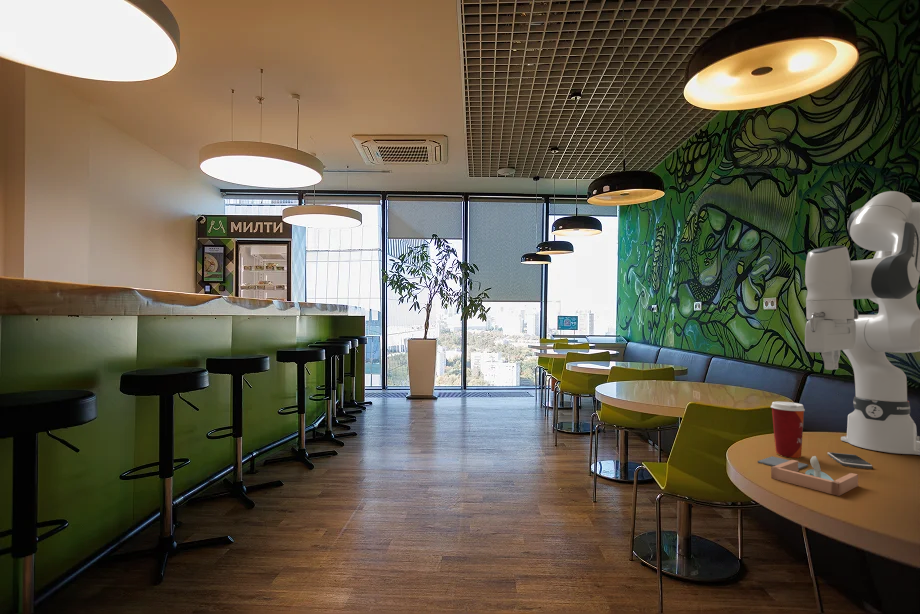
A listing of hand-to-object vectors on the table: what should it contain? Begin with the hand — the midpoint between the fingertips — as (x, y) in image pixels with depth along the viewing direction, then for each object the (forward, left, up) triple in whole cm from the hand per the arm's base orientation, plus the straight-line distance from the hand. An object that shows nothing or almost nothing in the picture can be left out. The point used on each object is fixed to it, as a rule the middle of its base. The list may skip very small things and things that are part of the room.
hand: (831, 369), depth 108 cm
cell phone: (-15, -2, -26) cm, 30 cm away
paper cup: (-8, -13, -25) cm, 29 cm away
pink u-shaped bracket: (+11, 0, -25) cm, 27 cm away
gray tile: (+3, -10, -25) cm, 27 cm away
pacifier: (+12, +2, -25) cm, 28 cm away
